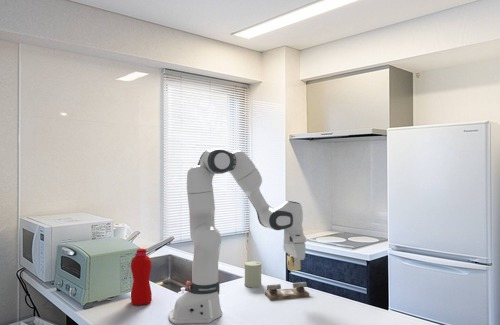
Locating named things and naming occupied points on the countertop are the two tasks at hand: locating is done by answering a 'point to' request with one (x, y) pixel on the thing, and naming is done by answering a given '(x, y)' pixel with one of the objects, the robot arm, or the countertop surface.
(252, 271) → the can
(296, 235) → the robot arm
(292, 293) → the shaft mount
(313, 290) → the countertop surface
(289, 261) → the block
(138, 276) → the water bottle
